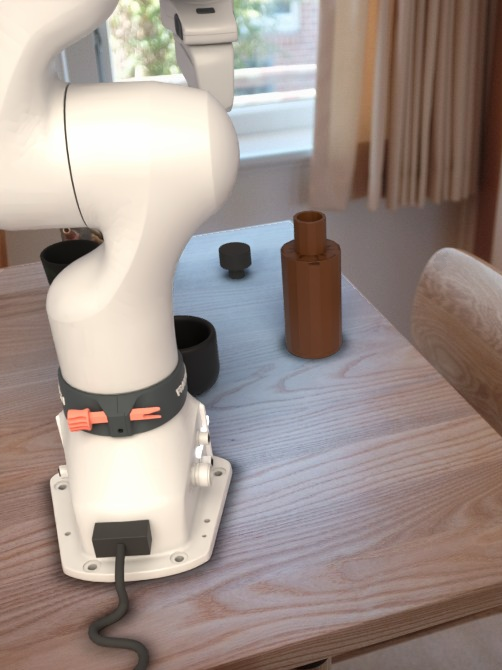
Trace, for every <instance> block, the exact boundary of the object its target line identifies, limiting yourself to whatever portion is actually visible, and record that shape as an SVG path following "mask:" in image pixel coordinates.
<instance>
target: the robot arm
mask: <svg viewBox="0 0 502 670" xmlns="http://www.w3.org/2000/svg"><path fill="white" fill-rule="evenodd" d="M119 3H120V0H0V230H2V231H9V232H18V231H37V230H39V231H40V230H56V229H57V230H60V229H61V228H82V227H89V228H95V229H98V230H100V231H101V233H102V235H103V239H104V242H103V243H102V244H101V245H100V246H98V247H97V248H96V249H94V250H93V251H91V252H90V253H88V254H86V255H84V256H82V257H81V258H79V259H77V260H75V261H74V262H72V263H71V264H70V265H68V266H67V267H66V268H64V269H63V270H62V271H61V272H60V273H59V274H58V275H57V276H56V278H55V279H54V280H53V282H52V284H51V286H49V288H48V290H47V294H46V299H45V310H46V314H47V318H48V324H49V327H50V331H51V335H52V340H53V343H54V348H55V353H56V357H57V360H58V368H57V380H58V383H57V386H58V393H59V398H60V401H61V404H62V410H61V411H60V412H59V413H58V414H57V415H56V416H55V421H56V424H57V425H56V426H57V430H58V432H59V436H60V441H61V444H62V447H63V452H64V459H65V464H60V465H59V466H58V469H57V471H58V472H57V473H56V474H54V475H53V476H52V477H51V478H50V479H49V487H50V495H51V499H52V507H53V515H54V521H55V528H56V535H57V541H58V549H59V556H60V563H61V568H62V571H63V574H64V575H66V576H68V577H71V578H73V579H77V580H82V581H86V582H93V583H94V582H95V583H96V582H97V583H114V587H115V592H116V595H117V598H118V606H117V608H116V609H115V610H114V611H113V612H112V613H110V614H108V615H105V616H103V617H101V618H98V619H96V620H95V621H92V622H91V624H90V625H89V627H88V629H87V630H88V632H87V634H88V638H89V639H90V640H91V642H93V643H94V644H95V645H97V646H101V647H107V648H119V649H127V650H132V651H134V652H136V653H137V656H138V657H137V658H138V662H137V664H136V665H135V666H134V668H133V669H132V670H147V669H148V665H149V661H150V655H149V651H148V649H147V648H146V646H145V645H144V644H143V643H142V642H140V641H138V640H135V639H130V638H123V637H111V636H105V635H102V634H100V633H99V631H101V629H104V628H105V627H108V626H110V625H112V624H115V623H116V622H117V621H119V620H121V619H122V618H123V617H124V616H125V614H126V613H127V611H128V609H129V604H130V601H129V596H128V592H127V589H126V584H125V583H126V582H137V581H138V582H139V581H146V580H153V579H160V578H165V577H170V576H174V575H178V574H182V573H184V572H188V571H190V570H193V569H196V568H197V567H199V566H201V565H203V564H205V563H207V562H209V560H211V557H212V555H213V551H214V548H215V545H216V540H217V536H218V532H219V528H220V524H221V521H222V515H223V512H224V508H225V505H226V501H227V496H228V493H229V488H230V484H231V481H232V476H233V468H232V464H231V462H230V461H229V460H227V459H226V458H222V457H220V456H217V455H214V454H213V448H212V447H213V446H212V442H211V433H210V430H209V429H210V428H209V423H210V419H209V415H207V411H206V406H205V404H203V403H201V401H200V400H198V399H197V398H195V396H194V395H193V396H192V395H190V394H189V392H188V391H187V389H188V388H187V380H186V379H187V373H186V368H185V364H184V362H183V357H182V354H181V353H180V351H179V350H178V349H177V344H176V337H175V327H174V316H175V315H174V283H175V276H176V271H177V267H178V265H179V262H180V259H181V257H182V254H183V252H184V251H185V249H186V247H187V245H188V244H189V242H190V241H191V239H192V238H193V236H194V235H195V234H196V233H197V231H199V229H200V228H201V227H202V226H203V225H204V224H205V223H206V222H207V221H209V219H210V218H212V217H213V216H214V215H215V214H217V213H218V212H219V211H220V210H221V209H222V208H223V207H224V206H225V204H226V203H227V201H228V200H229V198H230V197H231V195H232V193H233V191H234V188H235V186H236V183H237V180H238V177H239V171H240V164H241V151H240V142H239V138H238V134H237V131H236V128H235V125H234V123H233V121H232V119H231V117H230V115H229V113H230V112H231V111H232V109H233V106H234V101H235V99H234V98H235V50H234V44H233V43H236V42H238V39H239V31H238V24H237V19H236V15H235V3H234V0H159V1H158V3H159V11H160V21H161V25H162V27H164V28H165V29H167V30H168V31H171V32H172V35H173V40H174V51H175V54H174V55H175V60H176V65H177V67H178V68H179V70H180V72H181V74H182V76H183V77H184V80H185V82H186V83H187V85H182V84H177V83H171V82H170V83H169V82H163V81H156V80H135V81H134V80H133V81H107V82H105V81H104V82H79V83H72V82H70V81H69V82H68V81H64V80H61V79H60V77H59V76H58V71H57V67H56V58H57V57H58V56H59V55H60V54H61V53H62V52H63V51H65V50H66V49H68V48H69V47H70V46H73V45H74V44H76V43H77V42H79V41H80V40H82V39H84V38H86V37H87V36H89V35H90V34H92V33H93V32H94V31H96V30H97V29H98V28H99V27H100V26H102V25H103V24H104V23H105V22H107V20H109V18H110V17H111V16H112V15H113V13H114V12H115V10H116V8H117V6H118V5H119Z"/></svg>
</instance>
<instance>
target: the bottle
mask: <svg viewBox="0 0 502 670" xmlns="http://www.w3.org/2000/svg"><path fill="white" fill-rule="evenodd" d="M292 221H293V239H291V240H289V241H287V242H285V243H283V245H282V246H281V247H280V249H279V250H280V268H281V284H282V286H281V287H282V304H283V319H284V320H283V321H284V339H285V347H286V350H287V351H288V352H289V353H290V354H292V355H293V356H295V357H299V358H302V359H308V360H309V359H310V360H311V359H313V360H318V359H324V358H327V357H331V356H333V355H335V354H336V353H338V352H339V351H340V350H341V348H342V344H343V343H342V342H343V311H342V310H343V308H342V307H343V305H342V303H343V302H342V301H343V299H342V298H343V297H342V249H341V245H340V244H339V243H338V242H336V241H335V240H332V239H329V238H328V237H327V216H326V214H325V213H323V212H321V211H318V210H302V211H298V212H296V213H295V214H294V215H293V216H292Z"/></svg>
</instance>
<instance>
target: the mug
mask: <svg viewBox="0 0 502 670" xmlns="http://www.w3.org/2000/svg"><path fill="white" fill-rule="evenodd" d="M174 327H175V337H176V344H177V349H178V350H179V351H180V353H181V354H182V357H183V362H184V364H185V368H186V373H187V379H186V380H187V388H188V389H187V391H188V392H189V394H190V395H192V396H193V397H194V396H198V395H199V394H203V393H204V392H206V391H209V389H210V388H212V387H213V386H214V385H215V384H216V382H217V380H218V378H219V375H220V370H221V367H220V366H221V365H220V364H221V363H220V356H219V355H220V354H219V346H218V337H217V331H216V328H215V326H214V324H213V323H212V322H210V321H209V320H207V319H205V318H203V317H199V316H196V315H188V314H187V315H186V314H179V315H178V314H177V315H174Z"/></svg>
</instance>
